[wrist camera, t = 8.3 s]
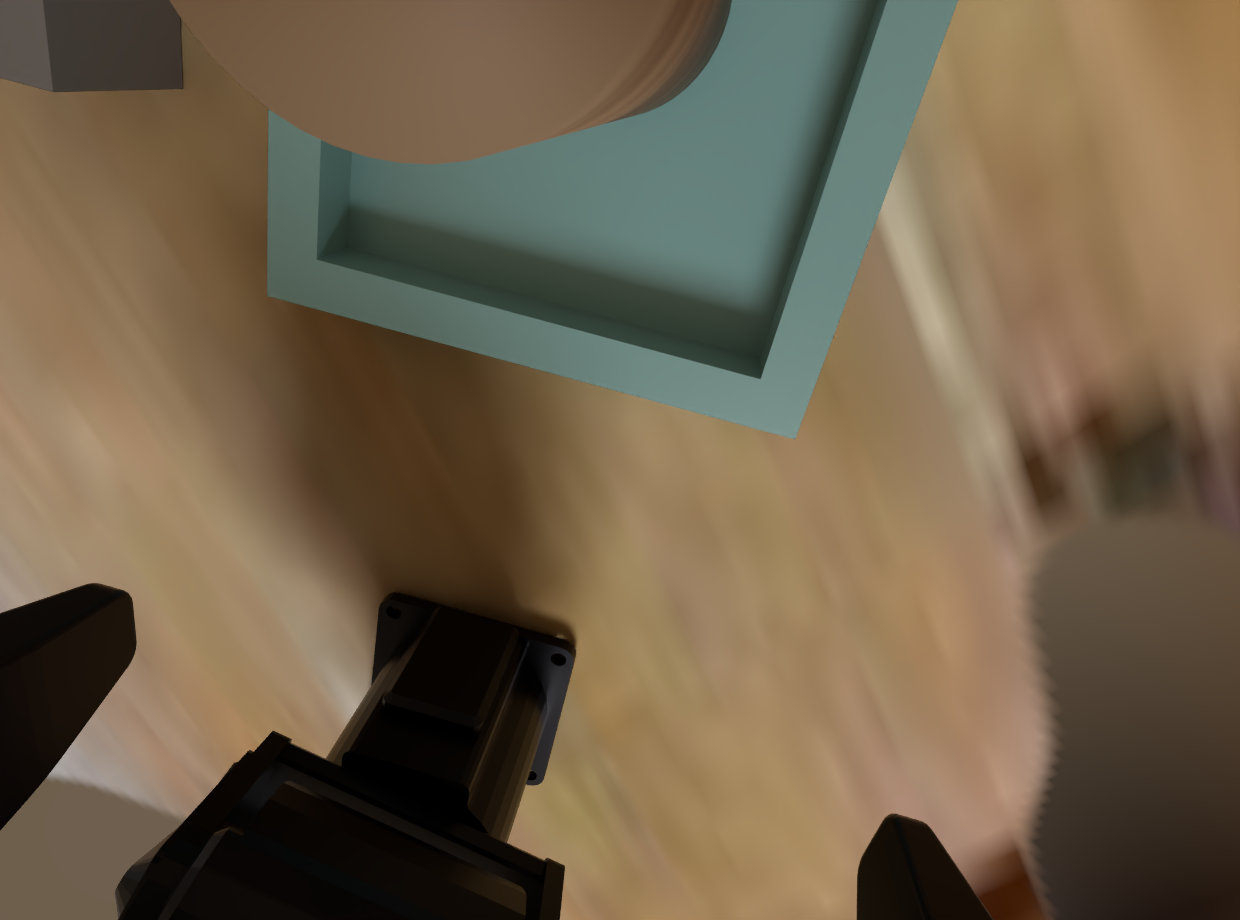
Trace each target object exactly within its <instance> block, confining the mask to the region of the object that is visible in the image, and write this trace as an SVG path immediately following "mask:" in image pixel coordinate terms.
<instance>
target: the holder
mask: <svg viewBox="0 0 1240 920" xmlns="http://www.w3.org/2000/svg"><path fill="white" fill-rule="evenodd" d="M0 78H2V79H6V80H10V81H14V82H17V83H21V84H25V85H29V86H32V87H36V88H40V89H44V90H48V91H51V92H73V91H117V90H160V89H183V79H182V54H181V29H180V16H179V14H178V13H177V11H176V10H175V8H174V7H173V5H172V4H171V2H170V0H0Z"/></svg>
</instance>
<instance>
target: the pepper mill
mask: <svg viewBox="0 0 1240 920" xmlns="http://www.w3.org/2000/svg"><path fill="white" fill-rule="evenodd" d="M170 2H171V4H172V5H173V7H174V8H175V10H176V11H177V13H178V14H179V16H180V17H181V19H182V20H183V22H184V23H185V25H186V26H187V27H188V28H189V30H190V31H191V32H192V33H193V35H194V36H195V37H196V38H197V40H198V41H199V42H200V43H201V45H202V46H203V47H204V48H205V50H206V51H207V52H208V53H209V55H210V56H211V57H212V58H213V59H214V60H215V61H216V62H217V63H218V64H219V65H220V66H221V67H222V68H223V69H224V70H225V71H226V72H227V73H228V74H229V75H230V76H231V77H232V78H233V79H234V80H235V81H236V82H237V83H238V84H239V85H240V86H241V87H242V88H243V89H245V90H246V91H247V92H248V93H250V94H251V95H252V96H253V97H254V98H256V99H257V100H258V101H259V102H260V103H262V104H263V105H264V106H265V107H267V108H268V109H269V110H271V111H272V112H274V113H275V114H277V115H278V116H280V117H281V118H283V119H285V120H286V121H288V122H289V123H291V124H292V125H294V126H295V127H297V128H298V129H300V130H302V131H304V132H306V133H308V134H310V135H312V136H314V137H316V138H318V139H321V140H323V141H325V142H327V143H329V144H331V145H333V146H336V147H339V148H342V149H345V150H348V151H351V152H354V153H357V154H360V155H363V156H366V157H371V158H376V159H382V160H387V161H392V162H398V163H413V164H442V163H452V162H461V161H469V160H472V159H476V158H480V157H484V156H488V155H492V154H496V153H500V152H503V151H507V150H511V149H514V148H518V147H522V146H525V145H529V144H533V143H536V142H540V141H544V140H547V139H551V138H555V137H558V136H562V135H566V134H569V133H573V132H577V131H580V130H584V129H588V128H591V127H595V126H599V125H602V124H606V123H610V122H613V121H617V120H621V119H624V118H628V117H632V116H635V115H639V114H643V113H646V112H648V111H651V110H653V109H656V108H658V107H660V106H662V105H664V104H665V103H667V102H669V101H670V100H672V99H674V98H675V97H676V96H677V95H679V94H680V93H681V92H682V91H684V90H685V89H686V88H687V87H688V86H689V85H690V84H691V83H692V82H693V81H694V80H695V79H696V78H697V77H698V76H699V74H700V73H701V72H702V70H703V69H704V68H705V66H706V65H707V64H708V62H709V60H710V59H711V57H712V55H713V54H714V52H715V50H716V49H717V46H718V44H719V42H720V40H721V37H722V35H723V33H724V30H725V27H726V23H727V20H728V17H729V13H730V8H731V3H732V0H170Z"/></svg>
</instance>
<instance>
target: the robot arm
mask: <svg viewBox="0 0 1240 920" xmlns="http://www.w3.org/2000/svg"><path fill="white" fill-rule="evenodd" d="M392 606H395V607H397V608H398V609H399V610H400V611H397V610H395V609H394V608H393V607H392ZM135 650H136V631H135V620H134V610H133V601H132V598H131V596H130V595H129V593H127V592H126V591H124V590H120V589H117V588H113V587H110V586H106V585H103V584H99V583H91V584H86V585H83V586H80V587H77V588H74V589H71V590H68V591H65V592H62V593H59V594H56V595H53V596H50V597H47V598H44V599H41V600H38V601H35V602H32V603H29V604H26V605H23V606H20V607H17V608H14V609H11V610H8V611H5V612H2V613H0V830H1V829H2V828H3V827H4V826H5V825H6V823H7V822H8V821H9V820H10V819H11V818H12V817H13V815H14V814H15V813H16V812H17V811H18V810H19V809H20V808H21V806H22V805H23V804H24V803H25V802H26V801H27V800H28V798H29V797H30V796H31V795H32V794H33V793H34V791H35V790H36V789H37V788H38V787H39V786H40V784H41V783H42V782H43V781H44V780H45V778H46V777H47V776H48V775H49V773H50V772H51V771H52V769H53V768H54V767H55V765H56V764H57V763H58V762H59V760H60V759H61V758H62V756H63V755H64V753H65V752H66V751H67V749H68V748H69V747H70V745H71V744H72V743H73V741H74V740H75V738H76V737H77V736H78V734H79V733H80V732H81V730H82V729H83V727H84V726H85V725H86V723H87V722H88V721H89V719H90V718H91V717H92V715H93V714H94V712H95V711H96V710H97V708H98V707H99V706H100V704H101V703H102V702H103V700H104V699H105V697H106V696H107V695H108V693H109V692H110V691H111V689H112V688H113V686H114V685H115V684H116V682H117V681H118V680H119V678H120V677H121V676H122V674H123V673H124V671H125V670H126V669H127V667H128V666H129V664H130V663H131V661H132V659H133V657H134V654H135ZM555 653H559V654H562V655H564V658H562V657H558V656H556V655H555ZM575 658H576V650H575V648H574V646H573V645H572V644H571V643H570V642H568V641H566V640H563V639H560V638H556V637H553V636H549V635H546V634H542V633H539V632H535V631H532V630H528V629H525V628H521V627H517V626H514V625H510V624H507V623H503V622H500V621H496V620H493V619H489V618H486V617H482V616H479V615H475V614H472V613H468V612H465V611H461V610H458V609H454V608H451V607H447V606H444V605H440V604H437V603H433V602H430V601H426V600H423V599H419V598H416V597H412V596H409V595H405V594H402V593H395V592H394V593H390V594H388V595H387V596H386V597H385V598H384V600H383V601H382V603H381V604H380V607H379V613H378V623H377V634H376V644H375V655H374V665H373V676H372V686H371V688H370V689H369V691H368V692H367V694H366V695H365V697H364V699H363V700H362V702H361V703H360V705H359V707H358V708H357V710H356V711H355V713H354V715H353V716H352V718H351V719H350V721H349V722H348V724H347V726H346V727H345V729H344V730H343V732H342V734H341V735H340V737H339V738H338V740H337V742H336V743H335V745H334V746H333V748H332V750H331V751H330V753H329V754H328V756H327V757H326V759H325V758H322V757H320V756H318V755H316V754H314V753H312V752H309V751H307V750H305V749H303V748H301V747H299V746H297V745H294V744H292V743H291V741H292V739H290V738H288V737H286V736H284V735H282V734H279V733H277V732H275V731H272V732H271V733H270V734H269V736H268V737H267V738H266V739H265V740H264V741H263V742H262V743H261V744H260V746H259V747H258V748H257V749H256V750H255V751H254V752H253V751H251V750H249V751H248V752H247V753H246V754H245V755H244V756H243V757H242V758H241V759H240V761H239V762H236V763H234V764H233V765H232V766H231V768H230V769H229V770H228V772H227V773H226V774H225V776H224V777H223V778H222V779H221V781H220V782H219V783H218V785H217V786H216V787H215V788H214V789H213V790H212V791H211V792H210V793H209V795H208V796H207V797H206V798H205V799H204V800H203V801H202V802H201V803H200V804H199V806H198V807H197V808H196V809H195V810H194V811H193V812H192V813H191V814H190V815H189V817H188V818H187V819H186V820H185V821H184V822H183V823H182V824H181V825H180V826H179V827H178V828H177V829H176V830H175V831H173V832H172V833H171V834H170V835H168V836H167V837H166V838H165V839H164V840H162V841H161V842H160V843H159V844H157V845H156V846H155V847H154V848H153V849H152V850H150V851H149V852H148V853H146V854H145V855H144V856H143V857H142V858H141V859H139V860H138V861H137V862H136V863H134V864H133V865H132V866H131V867H130V868H129V870H128V871H127V872H126V874H125V875H124V876H123V878H122V879H121V881H120V883H119V884H118V886H117V888H116V891H115V897H116V904H117V912H118V920H560V911H561V901H562V891H563V881H564V871H565V866H564V865H562V864H560V863H558V862H555V861H553V860H551V859H549V858H546V859H545V860H543V859H540V858H538V857H536V856H534V855H532V854H530V853H527V852H525V851H523V850H521V849H519V848H517V847H514V846H512V845H510V844H508V843H507V841H508V838H509V835H510V832H511V829H512V826H513V823H514V819H515V816H516V813H517V810H518V807H519V804H520V801H521V798H522V795H523V792H524V789H525V785H526V784H527V785H538V784H540V783H542V781H543V779H544V776H545V773H546V770H547V766H548V762H549V758H550V754H551V750H552V746H553V743H554V739H555V735H556V731H557V727H558V723H559V719H560V716H561V712H562V708H563V704H564V700H565V696H566V692H567V689H568V685H569V681H570V677H571V673H572V669H573V665H574V662H575ZM530 770H532V771H530ZM857 920H993V918H992V917H991V915H990V914H989V912H988V911H987V910H986V908H985V907H984V905H983V904H982V902H981V901H980V899H979V898H978V896H977V895H976V893H975V892H974V891H973V889H972V888H971V886H970V885H969V883H968V882H967V880H966V879H965V877H964V876H963V874H962V873H961V872H960V870H959V869H958V867H957V866H956V864H955V863H954V861H953V860H952V858H951V857H950V855H949V854H948V853H947V851H946V850H945V848H944V847H943V845H942V844H941V842H940V841H939V839H938V838H937V836H936V835H935V833H934V832H933V831H932V829H931V828H930V827H929V826H928V825H927V824H925V823H924V822H922V821H919V820H916V819H912V818H909V817H905V816H902V815H898V814H890V815H888V816H886V817H885V819H884V820H883V821H882V823H881V825H880V826H879V828H878V830H877V832H876V833H875V835H874V837H873V838H872V840H871V842H870V843H869V845H868V847H867V849H866V850H865V852H864V854H863V856H862V858H861V861H860V864H859V868H858V875H857Z"/></svg>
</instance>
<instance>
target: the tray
mask: <svg viewBox="0 0 1240 920" xmlns="http://www.w3.org/2000/svg"><path fill="white" fill-rule="evenodd" d="M957 2H958V0H732V3H731V8H730V13H729V17H728V20H727V23H726V27H725V30H724V33H723V35H722V37H721V40H720V42H719V44H718V46H717V49H716V50H715V52H714V54H713V55H712V57H711V59H710V60H709V62H708V64H707V65H706V66H705V68H704V69H703V70H702V72H701V73H700V74H699V76H698V77H697V78H696V79H695V80H694V81H693V82H692V83H691V84H690V85H689V86H688V87H687V88H686V89H685V90H684V91H682V92H681V93H680V94H679V95H677V96H676V97H675V98H674V99H672V100H670V101H669V102H667V103H665V104H664V105H662V106H660V107H658V108H656V109H653V110H651V111H648V112H646V113H643V114H639V115H635V116H632V117H628V118H624V119H621V120H617V121H613V122H610V123H606V124H602V125H599V126H595V127H591V128H588V129H584V130H580V131H577V132H573V133H569V134H566V135H562V136H558V137H555V138H551V139H547V140H544V141H540V142H536V143H533V144H529V145H525V146H522V147H518V148H514V149H511V150H507V151H503V152H500V153H496V154H492V155H488V156H484V157H480V158H476V159H472V160H469V161H461V162H452V163H442V164H413V163H398V162H392V161H387V160H382V159H376V158H371V157H366V156H363V155H360V154H357V153H354V152H351V151H348V150H345V149H342V148H339V147H336V146H333V145H331V144H329V143H327V142H325V141H323V140H321V139H318V138H316V137H314V136H312V135H310V134H308V133H306V132H304V131H302V130H300V129H298V128H297V127H295V126H294V125H292V124H291V123H289V122H288V121H286V120H285V119H283V118H281V117H280V116H278V115H277V114H275V113H274V112H272V111H271V110H269V109H268V234H267V296H269V297H273V298H277V299H280V300H284V301H288V302H291V303H295V304H299V305H302V306H306V307H310V308H313V309H317V310H321V311H324V312H328V313H332V314H335V315H339V316H343V317H346V318H350V319H354V320H357V321H361V322H365V323H368V324H372V325H376V326H380V327H383V328H387V329H391V330H394V331H398V332H402V333H405V334H409V335H413V336H416V337H420V338H424V339H427V340H431V341H435V342H438V343H442V344H446V345H449V346H453V347H457V348H460V349H464V350H468V351H471V352H475V353H479V354H483V355H486V356H490V357H494V358H497V359H501V360H505V361H508V362H512V363H516V364H519V365H523V366H527V367H530V368H534V369H538V370H541V371H545V372H549V373H552V374H556V375H560V376H563V377H567V378H571V379H574V380H578V381H582V382H586V383H589V384H593V385H597V386H600V387H604V388H608V389H611V390H615V391H619V392H622V393H626V394H630V395H633V396H637V397H641V398H644V399H648V400H652V401H655V402H659V403H663V404H666V405H670V406H674V407H677V408H681V409H685V410H689V411H692V412H696V413H700V414H703V415H707V416H711V417H714V418H718V419H722V420H725V421H729V422H733V423H736V424H740V425H744V426H747V427H751V428H755V429H758V430H762V431H766V432H769V433H773V434H777V435H780V436H784V437H788V438H792V439H795V438H796V435H797V432H798V430H799V427H800V424H801V422H802V419H803V416H804V414H805V411H806V408H807V406H808V403H809V400H810V397H811V395H812V392H813V389H814V387H815V384H816V381H817V379H818V376H819V373H820V371H821V368H822V365H823V363H824V360H825V357H826V354H827V352H828V349H829V346H830V344H831V341H832V338H833V336H834V333H835V330H836V328H837V325H838V322H839V319H840V317H841V314H842V311H843V309H844V306H845V303H846V301H847V298H848V295H849V293H850V290H851V287H852V284H853V282H854V279H855V276H856V274H857V271H858V268H859V266H860V263H861V260H862V258H863V255H864V252H865V249H866V247H867V244H868V241H869V239H870V236H871V233H872V231H873V228H874V225H875V223H876V220H877V217H878V214H879V212H880V209H881V206H882V204H883V201H884V198H885V196H886V193H887V190H888V188H889V185H890V182H891V179H892V177H893V174H894V171H895V169H896V166H897V163H898V161H899V158H900V155H901V153H902V150H903V147H904V144H905V142H906V139H907V136H908V134H909V131H910V128H911V126H912V123H913V120H914V118H915V115H916V112H917V109H918V107H919V104H920V101H921V99H922V96H923V93H924V91H925V88H926V85H927V83H928V80H929V77H930V74H931V72H932V69H933V66H934V64H935V61H936V58H937V56H938V53H939V50H940V48H941V45H942V42H943V39H944V37H945V34H946V31H947V29H948V26H949V23H950V21H951V18H952V15H953V13H954V10H955V7H956V5H957Z"/></svg>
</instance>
